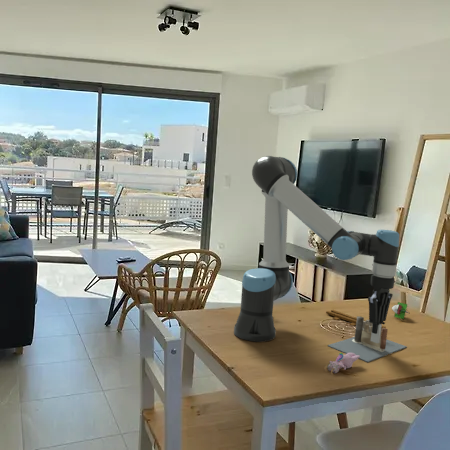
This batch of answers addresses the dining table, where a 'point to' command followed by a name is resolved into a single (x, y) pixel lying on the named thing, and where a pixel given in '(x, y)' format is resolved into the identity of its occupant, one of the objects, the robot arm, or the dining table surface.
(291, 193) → the robot arm
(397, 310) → the geometric puzzle
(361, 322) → the white fence section
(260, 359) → the dining table surface
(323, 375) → the dining table surface
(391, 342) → the board
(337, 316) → the decorative fence
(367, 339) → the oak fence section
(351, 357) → the rabbit figure
